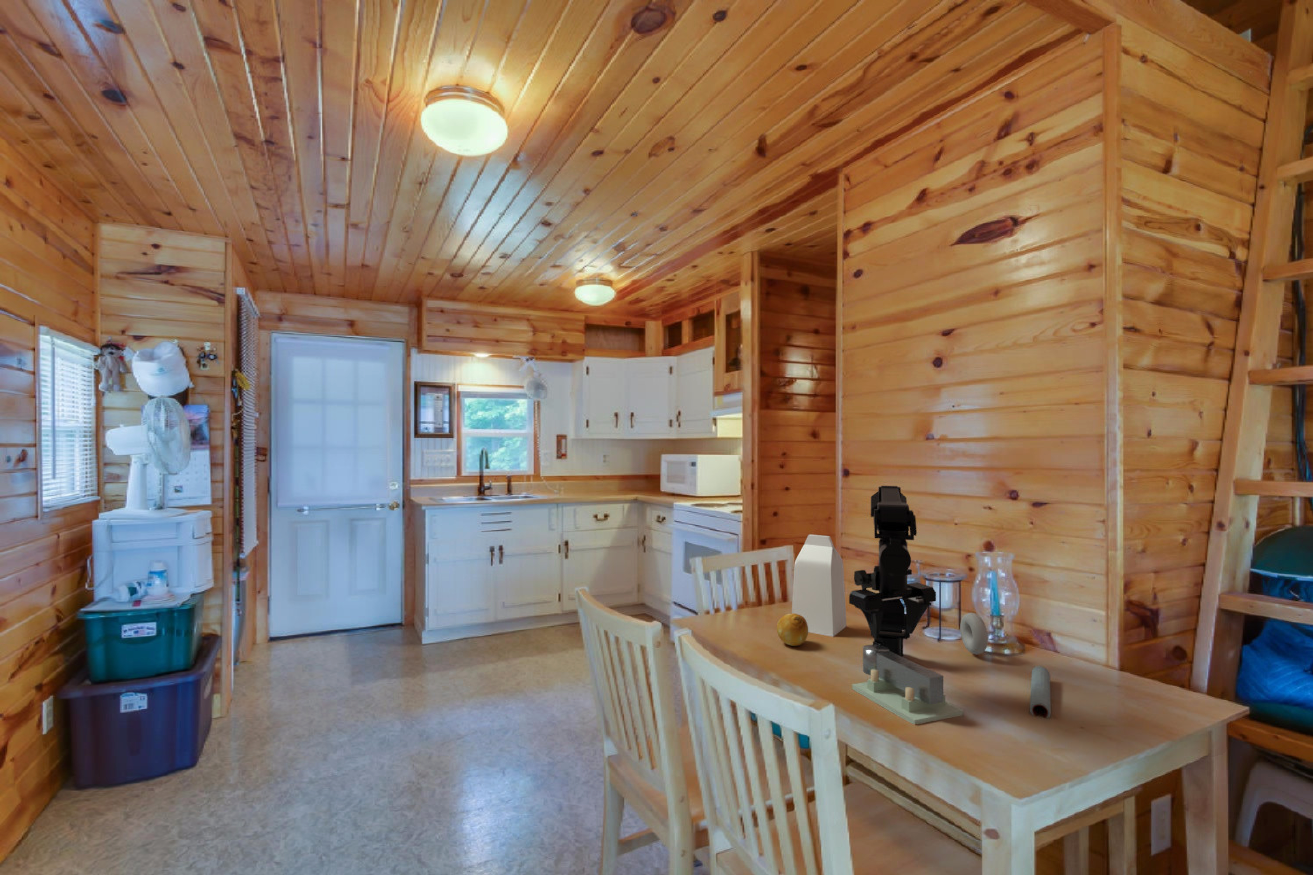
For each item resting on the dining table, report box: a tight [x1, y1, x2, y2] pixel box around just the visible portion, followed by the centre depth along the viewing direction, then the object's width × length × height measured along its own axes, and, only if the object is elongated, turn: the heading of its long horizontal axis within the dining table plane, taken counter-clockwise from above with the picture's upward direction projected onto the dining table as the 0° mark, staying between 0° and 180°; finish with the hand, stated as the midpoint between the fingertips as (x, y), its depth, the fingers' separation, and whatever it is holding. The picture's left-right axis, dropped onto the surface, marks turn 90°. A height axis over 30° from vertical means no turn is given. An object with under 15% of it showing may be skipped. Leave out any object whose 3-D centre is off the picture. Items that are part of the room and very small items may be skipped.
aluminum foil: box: [1029, 665, 1052, 719], centre depth 128 cm, size 23×7×3 cm, turn 148°
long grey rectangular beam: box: [862, 644, 944, 704], centre depth 128 cm, size 5×20×5 cm, turn 21°
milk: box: [791, 534, 848, 638], centre depth 176 cm, size 12×12×26 cm
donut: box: [959, 612, 989, 655], centre depth 155 cm, size 10×4×10 cm, turn 178°
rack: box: [851, 669, 964, 725], centre depth 127 cm, size 12×18×5 cm, turn 21°
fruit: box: [776, 612, 809, 647], centre depth 162 cm, size 8×8×8 cm
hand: (892, 635), depth 133 cm, fingers open, 9 cm apart
